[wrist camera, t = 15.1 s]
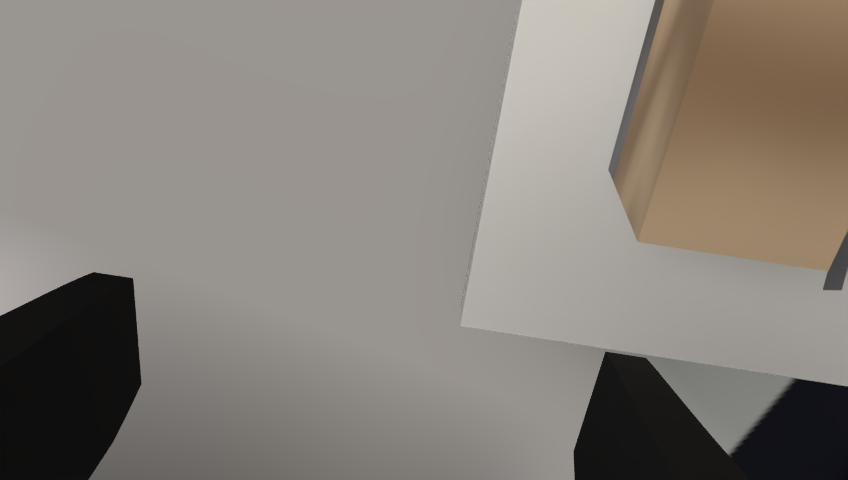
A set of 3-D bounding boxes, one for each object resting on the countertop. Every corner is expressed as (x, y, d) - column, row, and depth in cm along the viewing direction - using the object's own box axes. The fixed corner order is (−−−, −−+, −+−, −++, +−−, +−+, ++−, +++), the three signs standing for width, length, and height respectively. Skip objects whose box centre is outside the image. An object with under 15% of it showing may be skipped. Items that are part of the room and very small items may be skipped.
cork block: (761, 192, 18) (828, 271, 15) (608, 169, 18) (637, 241, 15) (880, -108, 15) (1004, -100, 11) (692, -136, 15) (757, -138, 11)
